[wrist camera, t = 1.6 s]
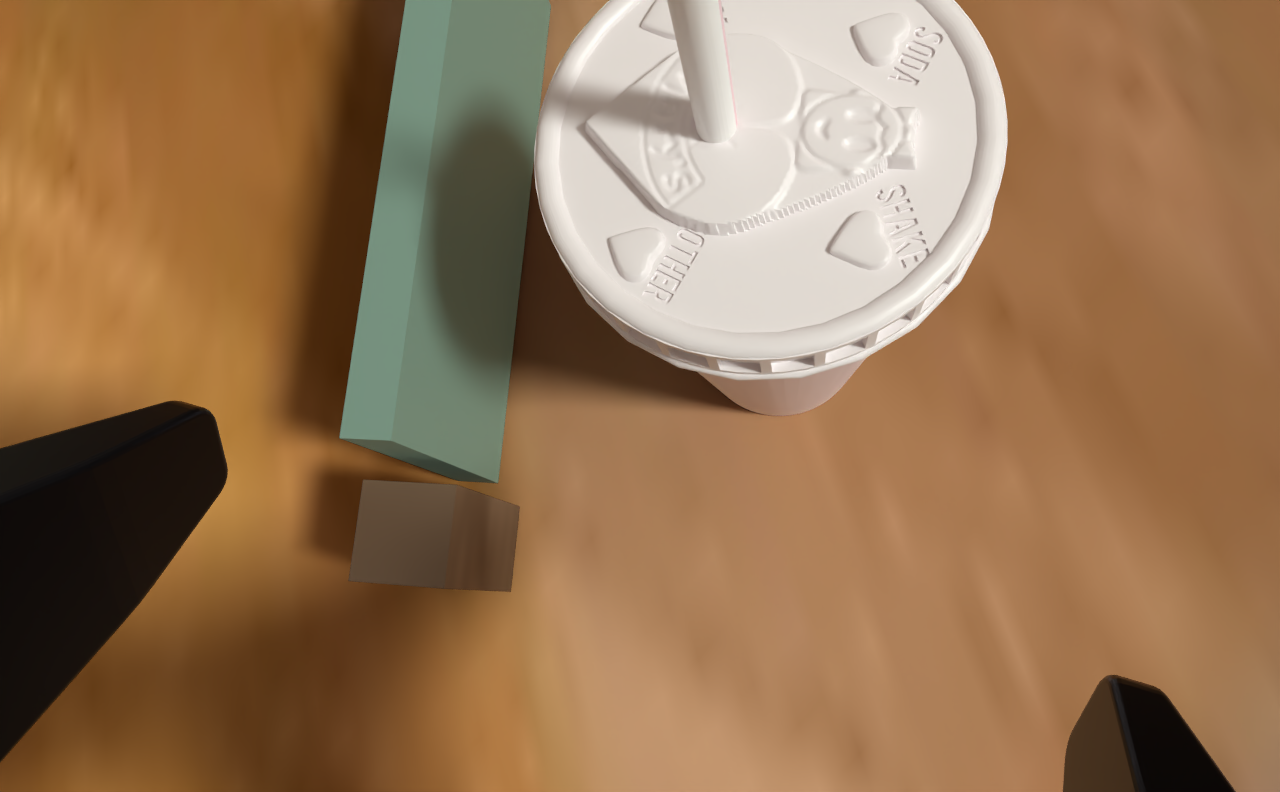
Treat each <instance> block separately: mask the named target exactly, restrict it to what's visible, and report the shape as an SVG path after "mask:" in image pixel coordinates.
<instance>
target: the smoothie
mask: <svg viewBox="0 0 1280 792" xmlns="http://www.w3.org/2000/svg"><path fill="white" fill-rule="evenodd" d="M1006 150H1007V114H1006V105H1005V98H1004V93H1003V89H1002V85H1001V81H1000V77H999V74H998V71H997V69H996V66H995V63H994V60H993V58H992V56H991V54H990V52H989V50H988V48H987V46H986V44H985V42H984V40H983V38H982V36H981V35H980V33H979V32H978V30H977V29H976V27H975V25H974V24H973V22H972V21H971V20H970V18H969V17H968V16H967V15H966V13H965V12H964V11H963V10H962V8H961V7H960V6H959V5H958V4H957V3H956V2H955V1H954V0H610V1H608V2H607V3H606V4H605V5H604V6H603V7H602V8H601V9H600V10H599V11H598V12H597V13H596V14H595V15H594V16H593V17H592V18H591V19H590V21H589V22H588V23H587V24H586V26H585V27H584V28H583V29H582V30H581V32H580V33H579V34H578V35H577V37H576V38H575V40H574V41H573V43H572V44H571V46H570V47H569V48H568V50H567V51H566V53H565V55H564V57H563V58H562V60H561V62H560V64H559V66H558V67H557V69H556V71H555V73H554V76H553V78H552V80H551V83H550V85H549V87H548V89H547V93H546V96H545V99H544V102H543V105H542V108H541V112H540V116H539V121H538V125H537V131H536V140H535V150H534V171H535V183H536V190H537V196H538V201H539V206H540V210H541V213H542V216H543V219H544V222H545V226H546V228H547V230H548V233H549V235H550V237H551V240H552V242H553V244H554V246H555V248H556V250H557V252H558V253H559V257H560V259H561V260H562V262H563V264H564V265H565V267H566V269H567V270H568V272H569V274H570V276H571V277H572V279H573V281H574V282H575V284H576V286H577V287H578V289H579V291H580V292H581V294H582V296H583V297H584V299H585V301H586V303H587V304H588V305H589V306H590V307H592V308H593V309H594V310H595V311H596V312H597V313H598V314H599V315H600V316H601V317H602V318H603V319H604V320H605V321H606V322H608V323H609V324H610V325H611V326H612V327H613V328H614V329H615V330H616V331H617V332H618V333H619V334H620V335H621V336H622V337H624V338H625V339H626V340H627V341H628V342H630V343H632V344H634V345H636V346H638V347H640V348H642V349H644V350H646V351H648V352H649V353H651V354H653V355H655V356H657V357H659V358H661V359H663V360H665V361H667V362H669V363H671V364H673V365H674V366H676V367H678V368H682V369H687V370H691V371H696V372H698V373H699V374H700V375H702V376H703V377H704V378H705V379H706V380H708V381H709V382H710V383H711V384H712V385H714V386H715V387H716V388H717V389H718V390H720V391H721V392H722V393H723V394H724V395H726V396H727V397H728V398H729V399H730V400H732V401H733V402H735V403H736V404H738V405H740V406H741V407H743V408H745V409H748V410H750V411H753V412H756V413H760V414H764V415H771V416H788V415H795V414H799V413H803V412H806V411H809V410H811V409H813V408H816V407H818V406H819V405H821V404H823V403H825V402H826V401H827V400H829V399H830V398H831V397H832V396H834V395H835V394H836V393H837V392H838V391H839V390H840V389H841V388H842V386H843V385H844V384H845V383H846V382H847V380H848V379H849V378H850V377H851V376H852V374H853V373H854V372H855V371H856V370H857V368H858V367H859V366H860V365H861V364H862V362H863V361H864V360H865V359H866V358H867V357H868V356H870V355H871V354H873V353H875V352H876V351H878V350H880V349H881V348H883V347H885V346H886V345H888V344H890V343H891V342H893V341H895V340H896V339H898V338H900V337H901V336H903V335H905V334H906V333H908V332H910V331H911V330H913V329H915V328H916V327H917V326H918V325H919V324H920V323H921V322H922V321H923V320H924V319H925V318H926V317H927V316H928V315H929V314H930V313H931V312H932V311H933V310H934V309H935V308H936V307H937V306H938V305H939V304H940V303H941V302H942V301H943V300H944V299H945V297H946V296H947V295H948V294H949V293H950V292H951V291H952V290H953V289H954V288H955V287H956V286H957V285H958V284H959V283H960V282H961V280H962V278H963V276H964V274H965V273H966V271H967V269H968V267H969V265H970V263H971V261H972V260H973V258H974V256H975V254H976V252H977V250H978V248H979V247H980V245H981V243H982V241H983V239H984V237H985V235H986V234H987V232H988V230H989V226H990V222H991V217H992V212H993V207H994V202H995V199H996V196H997V193H998V190H999V187H1000V184H1001V179H1002V175H1003V170H1004V166H1005V159H1006Z"/></svg>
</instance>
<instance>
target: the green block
mask: <svg viewBox="0 0 1280 792" xmlns="http://www.w3.org/2000/svg"><path fill="white" fill-rule="evenodd" d="M550 10H551V5H550V3H549V0H406V1H405V8H404V15H403V21H402V28H401V34H400V41H399V48H398V54H397V61H396V67H395V74H394V81H393V87H392V94H391V100H390V107H389V114H388V120H387V127H386V133H385V140H384V147H383V153H382V160H381V166H380V173H379V179H378V186H377V193H376V199H375V206H374V212H373V219H372V226H371V232H370V239H369V245H368V252H367V259H366V265H365V272H364V278H363V285H362V292H361V298H360V305H359V311H358V318H357V325H356V331H355V338H354V344H353V351H352V358H351V364H350V371H349V377H348V384H347V391H346V397H345V404H344V410H343V417H342V424H341V430H340V437H339V438H340V439H343V440H346V441H348V442H351V443H354V444H357V445H360V446H362V447H365V448H368V449H371V450H374V451H376V452H379V453H382V454H385V455H388V456H390V457H393V458H396V459H399V460H402V461H404V462H407V463H410V464H413V465H415V466H418V467H421V468H424V469H427V470H429V471H432V472H435V473H438V474H441V475H443V476H446V477H449V478H452V479H455V480H457V481H468V482H486V483H498V479H499V470H500V461H501V452H502V443H503V434H504V425H505V416H506V407H507V398H508V389H509V380H510V371H511V362H512V353H513V344H514V335H515V326H516V317H517V308H518V299H519V290H520V281H521V272H522V263H523V254H524V245H525V236H526V227H527V218H528V209H529V200H530V190H531V181H532V172H533V163H534V150H535V140H536V131H537V125H538V118H539V109H540V100H541V91H542V82H543V73H544V64H545V55H546V46H547V37H548V28H549V19H550Z"/></svg>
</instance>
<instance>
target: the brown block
mask: <svg viewBox="0 0 1280 792" xmlns="http://www.w3.org/2000/svg"><path fill="white" fill-rule="evenodd" d="M519 509H520V507H519V506H517V505H514V504H511V503H508V502H505V501H502V500H499V499H496V498H493V497H490V496H488V495H485V494H482V493H479V492H476V491H473V490H470V489H467V488H464V487H461V486H459V485H450V484H432V483H414V482H397V481H379V480H363V484H362V491H361V498H360V505H359V512H358V518H357V525H356V532H355V539H354V546H353V553H352V560H351V567H350V574H349V581H355V582H367V583H380V584H392V585H405V586H417V587H430V588H442V589H463V590H485V591H506V592H511V585H512V576H513V566H514V557H515V547H516V538H517V528H518V519H519Z"/></svg>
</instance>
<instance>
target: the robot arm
mask: <svg viewBox="0 0 1280 792" xmlns="http://www.w3.org/2000/svg"><path fill="white" fill-rule="evenodd" d="M227 472H228V469H227V463H226V459H225V455H224V451H223V447H222V443H221V439H220V435H219V431H218V427H217V422H216V420H215V417H214V416H213V414H212V413H211V412H210V411H209V410H207V409H205V408H202V407H199V406H196V405H192V404H189V403H185V402H182V401H168V402H164V403H160V404H157V405H153V406H150V407H146V408H142V409H139V410H135V411H132V412H128V413H125V414H121V415H118V416H114V417H110V418H107V419H103V420H100V421H96V422H93V423H89V424H86V425H82V426H78V427H75V428H71V429H68V430H64V431H61V432H57V433H54V434H50V435H46V436H43V437H39V438H36V439H32V440H29V441H25V442H22V443H18V444H14V445H11V446H7V447H4V448H0V762H1V761H2V760H3V759H4V758H5V757H6V755H7V754H8V753H9V752H10V751H11V750H12V749H13V747H14V746H15V745H16V744H17V743H18V742H19V741H20V740H21V738H22V737H23V736H24V735H25V734H26V733H27V732H28V730H29V729H30V728H31V727H32V726H33V725H34V724H35V722H36V721H37V720H38V719H39V718H40V717H41V716H42V714H43V713H44V712H45V711H46V710H47V709H48V708H49V707H50V705H51V704H52V703H53V702H54V701H55V700H56V699H57V697H58V696H59V695H60V694H61V693H62V692H63V691H64V689H65V688H66V687H67V686H68V685H69V684H70V683H71V682H72V680H73V679H74V678H75V677H76V676H77V675H78V674H79V672H80V671H81V670H82V669H83V668H84V667H85V666H86V664H87V663H88V662H89V661H90V660H91V659H92V658H93V656H94V655H95V654H96V653H97V652H98V651H99V650H100V649H101V647H102V646H103V645H104V644H105V643H106V642H107V641H108V639H109V638H110V637H111V636H112V635H113V634H114V633H115V631H116V630H117V629H118V628H119V627H120V626H121V625H122V624H123V622H124V621H125V620H126V619H127V618H128V616H129V615H130V614H131V613H132V612H133V611H134V609H135V608H136V607H137V606H138V605H139V603H140V602H141V601H142V599H143V598H144V597H145V596H146V594H147V593H148V592H149V590H150V589H151V588H152V586H153V585H154V584H155V582H156V581H157V580H158V578H159V577H160V575H161V574H162V573H163V571H164V570H165V569H166V567H167V566H168V564H169V563H170V562H171V560H172V559H173V558H174V556H175V555H176V553H177V552H178V551H179V549H180V548H181V546H182V545H183V544H184V542H185V541H186V540H187V538H188V537H189V535H190V534H191V533H192V531H193V530H194V529H195V527H196V526H197V524H198V523H199V522H200V520H201V519H202V518H203V516H204V515H205V513H206V512H207V511H208V509H209V508H210V506H211V505H212V504H213V502H214V501H215V500H216V498H217V497H218V495H219V494H220V493H221V491H222V489H223V487H224V485H225V483H226V479H227ZM1063 792H1236V791H1235V790H1234V789H1233V787H1232V786H1231V784H1230V783H1229V782H1228V780H1227V779H1226V778H1225V776H1224V775H1223V773H1222V772H1221V771H1220V769H1219V768H1218V766H1217V765H1216V764H1215V762H1214V761H1213V759H1212V758H1211V757H1210V755H1209V754H1208V752H1207V751H1206V750H1205V748H1204V747H1203V745H1202V744H1201V743H1200V741H1199V740H1198V738H1197V737H1196V736H1195V734H1194V733H1193V731H1192V730H1191V729H1190V727H1189V726H1188V724H1187V723H1186V722H1185V720H1184V719H1183V718H1182V716H1181V715H1180V713H1179V712H1178V711H1177V709H1176V708H1175V706H1174V705H1173V704H1172V702H1171V701H1170V699H1169V698H1168V697H1167V696H1166V694H1164V693H1163V692H1162V691H1161V690H1160V689H1158V688H1157V687H1154V686H1152V685H1148V684H1145V683H1142V682H1138V681H1135V680H1131V679H1128V678H1125V677H1121V676H1118V675H1108V676H1106V677H1105V678H1103V679H1102V680H1101V681H1100V682H1099V684H1098V685H1097V687H1096V689H1095V691H1094V693H1093V694H1092V696H1091V698H1090V700H1089V702H1088V703H1087V705H1086V707H1085V709H1084V710H1083V712H1082V714H1081V716H1080V718H1079V719H1078V721H1077V723H1076V725H1075V727H1074V728H1073V730H1072V732H1071V735H1070V738H1069V741H1068V745H1067V749H1066V755H1065V767H1064V783H1063Z"/></svg>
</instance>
